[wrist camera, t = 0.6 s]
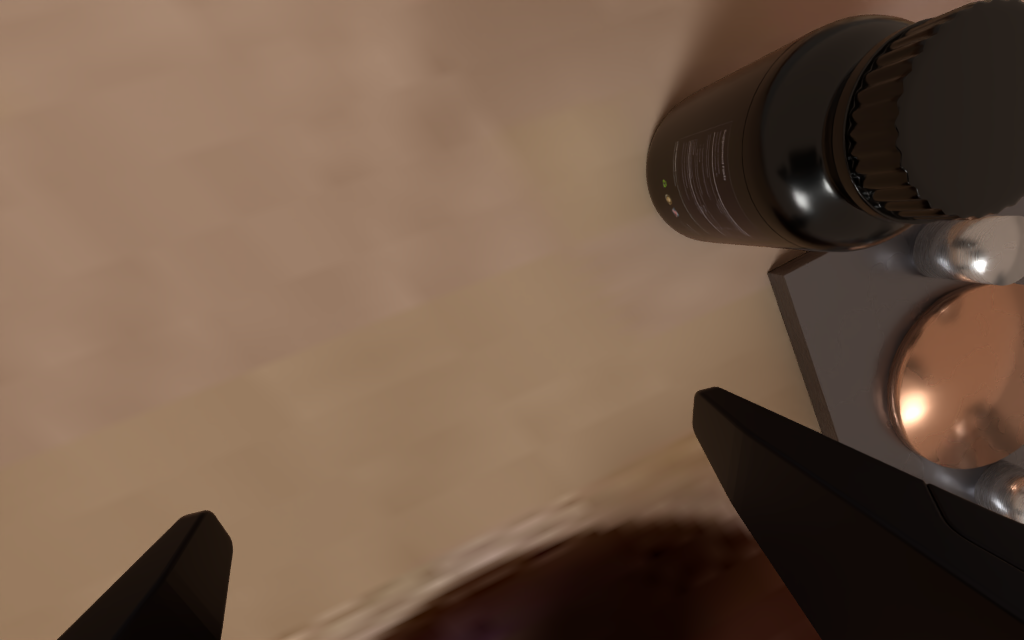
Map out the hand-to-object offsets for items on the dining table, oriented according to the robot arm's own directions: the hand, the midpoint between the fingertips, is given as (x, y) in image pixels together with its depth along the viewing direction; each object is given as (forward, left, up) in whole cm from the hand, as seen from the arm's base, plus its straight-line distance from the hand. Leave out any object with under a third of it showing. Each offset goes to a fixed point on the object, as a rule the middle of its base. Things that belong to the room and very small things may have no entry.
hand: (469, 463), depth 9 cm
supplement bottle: (+1, -14, -14) cm, 20 cm away
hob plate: (-15, -23, -14) cm, 31 cm away
